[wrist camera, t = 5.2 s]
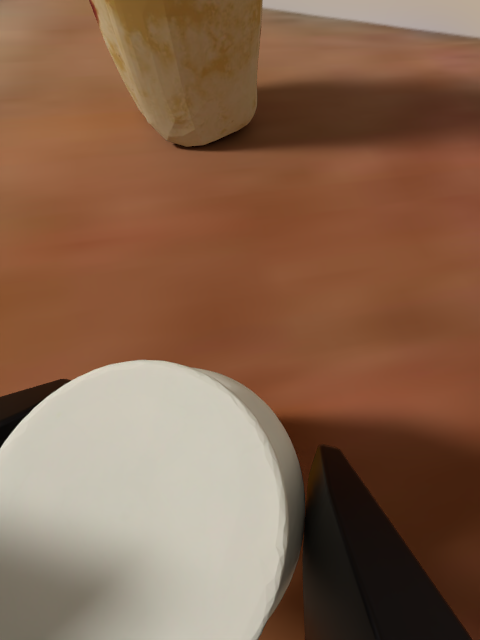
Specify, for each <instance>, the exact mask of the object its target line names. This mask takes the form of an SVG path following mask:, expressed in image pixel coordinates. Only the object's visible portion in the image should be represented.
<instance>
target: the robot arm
mask: <svg viewBox="0 0 480 640" xmlns="http://www.w3.org/2000/svg"><path fill="white" fill-rule="evenodd" d="M70 381H72V380H68V379H60V380H56V381H53V382H50V383H46V384H43V385H39V386H36V387H33V388H29V389H26V390H22V391H19V392H15V393H12V394H9V395H5V396H2V397H0V448H1V446H2V445H3V443H4V442H5V440H6V439H7V438H8V437H9V435H10V434H11V433H12V432H13V430H14V429H15V428H16V427H17V426H18V424H19V423H20V422H21V421H22V420H23V419H24V418H25V417H26V416H27V415H28V414H29V413H30V412H31V411H32V410H33V408H35V407H36V406H37V405H38V404H39V403H40V402H42V401H43V400H44V399H45V398H46V397H48V396H49V395H50V394H52V393H53V392H55V391H56V390H57V389H59V388H60V387H62V386H63V385H65V384H67V383H68V382H70ZM303 599H304V627H305V640H472V638H471V637H470V635H469V634H468V632H467V631H466V629H465V628H464V627H463V625H462V624H461V622H460V621H459V619H458V618H457V617H456V615H455V614H454V612H453V611H452V609H451V608H450V607H449V605H448V604H447V602H446V601H445V599H444V598H443V596H442V595H441V594H440V592H439V591H438V589H437V588H436V586H435V585H434V584H433V582H432V581H431V579H430V578H429V576H428V575H427V574H426V572H425V571H424V569H423V568H422V566H421V565H420V563H419V562H418V561H417V559H416V558H415V556H414V555H413V553H412V552H411V551H410V549H409V548H408V546H407V545H406V543H405V542H404V540H403V539H402V538H401V536H400V535H399V533H398V532H397V530H396V529H395V528H394V526H393V525H392V523H391V522H390V520H389V519H388V518H387V516H386V515H385V513H384V512H383V510H382V509H381V507H380V506H379V505H378V503H377V502H376V500H375V499H374V497H373V496H372V495H371V493H370V492H369V490H368V489H367V487H366V486H365V485H364V483H363V482H362V480H361V479H360V477H359V476H358V474H357V473H356V472H355V470H354V469H353V467H352V466H351V464H350V463H349V462H348V460H347V459H346V457H345V456H344V454H343V453H342V451H341V450H340V449H338V448H336V447H332V446H328V445H324V444H321V445H319V446H318V448H317V451H316V454H315V457H314V460H313V464H312V467H311V470H310V473H309V478H308V487H307V501H306V515H305V529H304V543H303Z"/></svg>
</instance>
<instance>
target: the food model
mask: <svg viewBox="0 0 480 640" xmlns="http://www.w3.org/2000/svg"><path fill="white" fill-rule="evenodd" d="M89 1H90V4H91V6H92V9H93V12H94V14H95V17H96V20H97V22H98V25H99V27H100V30H101V32H102V35H103V37H104V40H105V42H106V45H107V48H108V50H109V52H110V54H111V56H112V58H113V60H114V63H115V65H116V67H117V69H118V71H119V73H120V75H121V77H122V79H123V81H124V83H125V85H126V87H127V89H128V91H129V93H130V94H131V96H132V98H133V100H134V101H135V103H136V105H137V107H138V109H139V110H140V111H141V113H142V114H143V115H144V116H145V117H146V119H147V121H148V122H149V124H150V125H151V126H152V127H153V128H154V129H155V130H156V131H157V132H158V133H159V134H160V135H161V136H162V137H163V138H164V139H165V140H166V141H169V142H172V143H176V144H179V145H183V146H186V147H188V146H199V145H205V144H208V143H210V142H213V141H215V140H218V139H220V138H222V137H224V136H227V135H229V134H231V133H233V132H236V131H238V130H240V129H241V128H243V127H244V126H246V125H247V124H249V122H250V121H251V119H252V118H253V116H254V114H255V111H256V107H257V67H258V56H259V46H260V34H261V22H262V0H89Z"/></svg>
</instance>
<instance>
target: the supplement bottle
mask: <svg viewBox="0 0 480 640" xmlns="http://www.w3.org/2000/svg"><path fill="white" fill-rule="evenodd" d="M304 526H305V493H304V483H303V477H302V472H301V468H300V464H299V461H298V458H297V455H296V452H295V449H294V447H293V445H292V442H291V440H290V438H289V436H288V434H287V432H286V430H285V428H284V427H283V425H282V424H281V422H280V421H279V419H278V418H277V416H276V415H275V414H274V412H273V411H272V410H271V409H270V407H269V406H268V405H267V404H266V403H265V402H264V401H263V400H262V399H260V398H259V397H258V396H257V395H256V394H255V393H254V392H252V391H251V390H250V389H248V388H247V387H245V386H244V385H242V384H241V383H239V382H237V381H235V380H233V379H231V378H229V377H226V376H224V375H222V374H219V373H215V372H212V371H208V370H203V369H198V368H190V367H187V366H184V365H180V364H176V363H172V362H167V361H157V360H136V361H129V362H122V363H117V364H111V365H107V366H104V367H101V368H98V369H95V370H93V371H91V372H89V373H86V374H84V375H82V376H80V377H78V378H76V379H74V380H72V381H70V382H68V383H67V384H65V385H63V386H62V387H60V388H59V389H57V390H56V391H55V392H53V393H52V394H50V395H49V396H48V397H46V398H45V399H44V400H43V401H42V402H40V403H39V404H38V405H37V406H36V407H35V408H33V410H32V411H31V412H30V413H29V414H28V415H27V416H26V417H25V418H24V419H23V420H22V421H21V422H20V423H19V424H18V426H17V427H16V428H15V429H14V430H13V432H12V433H11V434H10V435H9V437H8V438H7V439H6V440H5V442H4V443H3V445H2V446H1V448H0V640H258V638H259V637H260V635H261V633H262V631H263V628H264V626H265V624H266V622H267V620H268V619H269V618H270V616H271V615H272V614H273V612H274V611H275V609H276V607H277V606H278V604H279V603H280V601H281V599H282V597H283V595H284V593H285V591H286V590H287V588H288V586H289V584H290V581H291V579H292V576H293V573H294V571H295V568H296V565H297V562H298V558H299V554H300V550H301V545H302V539H303V534H304Z"/></svg>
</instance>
